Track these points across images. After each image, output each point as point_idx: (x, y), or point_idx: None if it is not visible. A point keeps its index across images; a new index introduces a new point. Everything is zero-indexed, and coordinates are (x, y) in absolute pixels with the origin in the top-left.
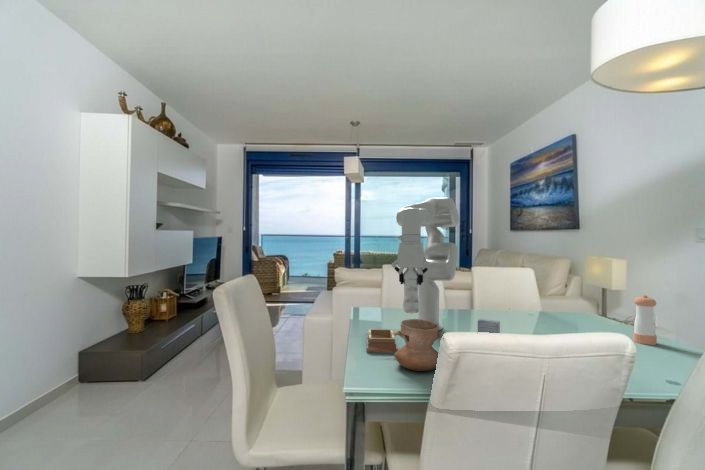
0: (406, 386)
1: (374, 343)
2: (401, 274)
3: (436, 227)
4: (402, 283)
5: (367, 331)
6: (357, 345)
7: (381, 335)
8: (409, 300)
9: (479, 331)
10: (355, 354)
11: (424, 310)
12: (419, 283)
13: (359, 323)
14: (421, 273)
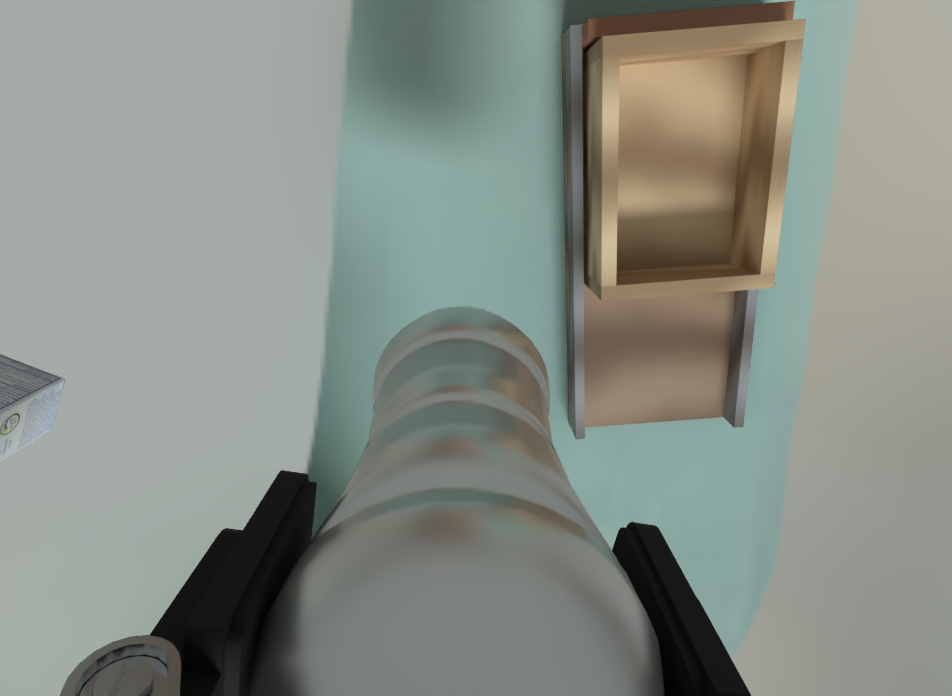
0: None
1: (746, 19)
2: (723, 689)
3: None
4: (622, 534)
5: (739, 390)
6: (802, 202)
7: (665, 272)
8: (485, 349)
9: (2, 400)
10: (836, 11)
11: None
12: (297, 486)
13: (744, 618)
14: (135, 681)
